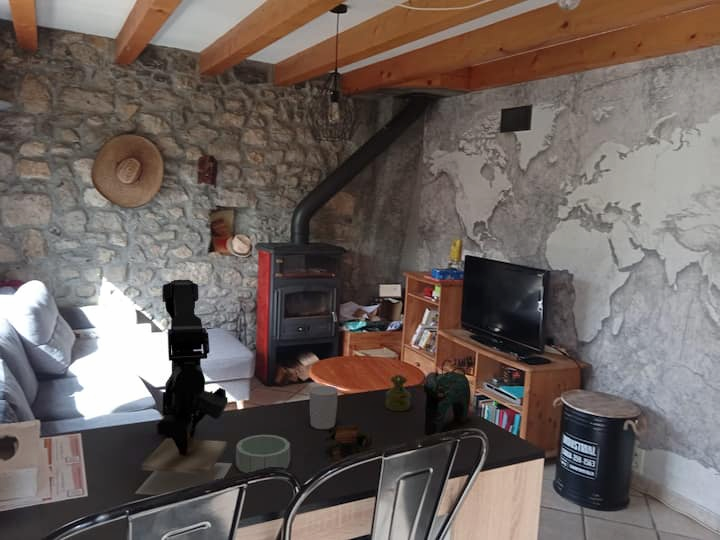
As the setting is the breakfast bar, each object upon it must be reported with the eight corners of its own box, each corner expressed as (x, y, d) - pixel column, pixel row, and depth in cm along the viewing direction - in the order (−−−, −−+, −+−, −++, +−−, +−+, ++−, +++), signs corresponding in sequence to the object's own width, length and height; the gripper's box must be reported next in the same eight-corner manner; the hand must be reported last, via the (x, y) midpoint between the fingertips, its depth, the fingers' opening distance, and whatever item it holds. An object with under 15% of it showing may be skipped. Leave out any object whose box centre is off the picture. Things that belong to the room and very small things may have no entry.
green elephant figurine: (435, 440, 156) (439, 366, 154) (414, 433, 160) (418, 361, 158) (473, 421, 171) (477, 353, 169) (453, 415, 175) (457, 349, 173)
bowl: (230, 476, 132) (230, 454, 131) (243, 453, 144) (243, 433, 143) (284, 479, 132) (284, 457, 131) (292, 456, 143) (293, 436, 143)
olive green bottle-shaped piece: (402, 413, 175) (404, 380, 174) (380, 408, 179) (382, 375, 178) (414, 406, 181) (415, 375, 180) (393, 401, 185) (394, 370, 184)
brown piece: (321, 463, 141) (319, 428, 145) (334, 465, 150) (332, 432, 153) (368, 457, 138) (365, 421, 142) (380, 460, 147) (377, 426, 150)
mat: (134, 496, 122) (134, 493, 122) (163, 462, 138) (163, 459, 138) (211, 500, 121) (211, 498, 121) (232, 465, 137) (232, 463, 137)
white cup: (333, 431, 160) (334, 395, 158) (304, 428, 161) (305, 392, 160) (339, 421, 167) (341, 386, 166) (312, 418, 169) (313, 384, 168)
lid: (141, 474, 122) (141, 450, 122) (166, 446, 136) (166, 424, 135) (208, 478, 122) (208, 454, 121) (226, 449, 136) (227, 428, 135)
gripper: (210, 397, 117) (210, 472, 119) (235, 370, 136) (234, 435, 137) (155, 394, 118) (155, 469, 119) (187, 368, 136) (186, 433, 138)
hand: (186, 450), depth 129 cm, fingers closed on lid, 3 cm apart
